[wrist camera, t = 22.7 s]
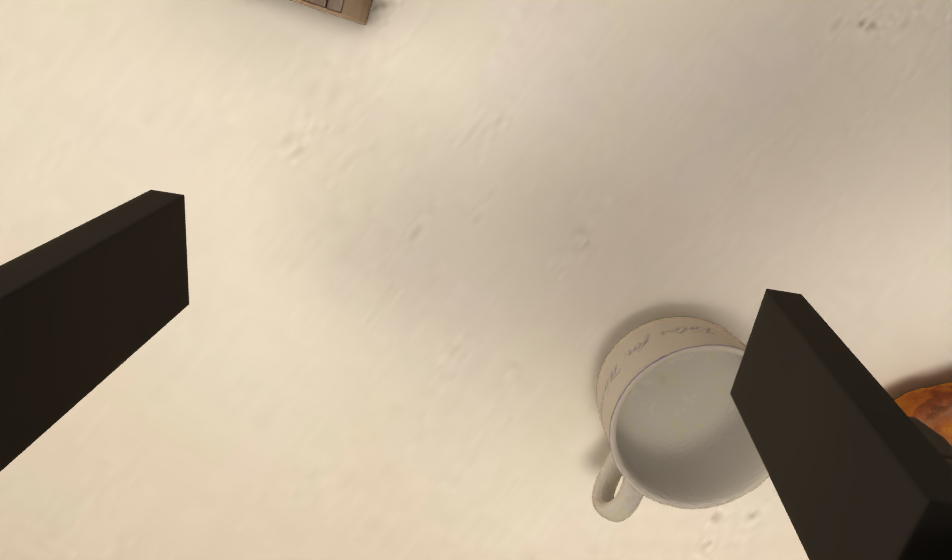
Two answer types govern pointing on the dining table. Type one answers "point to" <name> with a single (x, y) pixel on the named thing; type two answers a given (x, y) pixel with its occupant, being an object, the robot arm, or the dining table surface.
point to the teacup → (673, 420)
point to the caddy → (342, 8)
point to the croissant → (930, 407)
